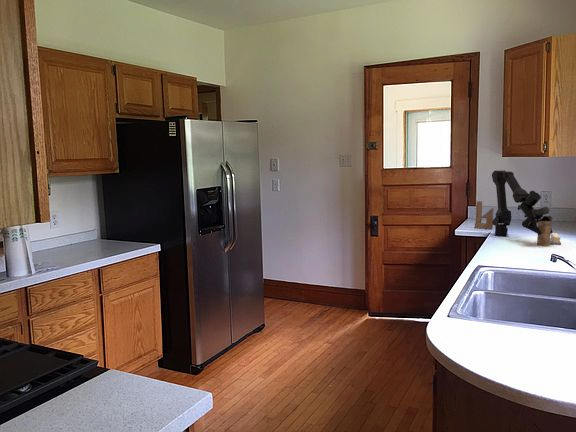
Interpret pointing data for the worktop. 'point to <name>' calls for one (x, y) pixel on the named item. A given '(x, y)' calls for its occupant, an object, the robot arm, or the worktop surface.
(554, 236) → the stand
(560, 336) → the worktop surface
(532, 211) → the robot arm
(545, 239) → the post
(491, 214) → the wooden angular frame
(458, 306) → the worktop surface
